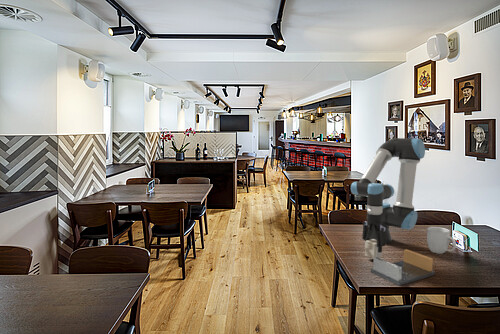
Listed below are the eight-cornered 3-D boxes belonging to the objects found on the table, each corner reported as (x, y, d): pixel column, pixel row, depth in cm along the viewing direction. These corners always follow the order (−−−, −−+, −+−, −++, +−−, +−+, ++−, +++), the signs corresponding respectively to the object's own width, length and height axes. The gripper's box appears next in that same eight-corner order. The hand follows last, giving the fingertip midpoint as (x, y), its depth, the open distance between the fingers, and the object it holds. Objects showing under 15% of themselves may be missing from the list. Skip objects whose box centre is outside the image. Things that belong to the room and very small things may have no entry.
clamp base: (370, 272, 155) (371, 257, 154) (404, 262, 167) (405, 248, 166) (399, 285, 141) (400, 269, 140) (434, 274, 153) (435, 259, 152)
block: (364, 255, 171) (365, 240, 170) (372, 253, 174) (373, 238, 173) (373, 259, 166) (374, 244, 165) (381, 257, 169) (382, 242, 168)
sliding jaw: (403, 261, 164) (404, 249, 164) (406, 260, 165) (406, 249, 165) (429, 271, 152) (430, 259, 151) (432, 270, 153) (432, 258, 152)
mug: (459, 254, 178) (461, 232, 176) (449, 259, 172) (451, 235, 170) (432, 247, 190) (433, 225, 189) (422, 250, 184) (423, 228, 183)
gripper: (355, 210, 174) (354, 250, 177) (384, 218, 157) (382, 263, 160) (365, 208, 177) (364, 248, 180) (395, 216, 160) (393, 260, 163)
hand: (373, 255), depth 170 cm, fingers closed on block, 6 cm apart
